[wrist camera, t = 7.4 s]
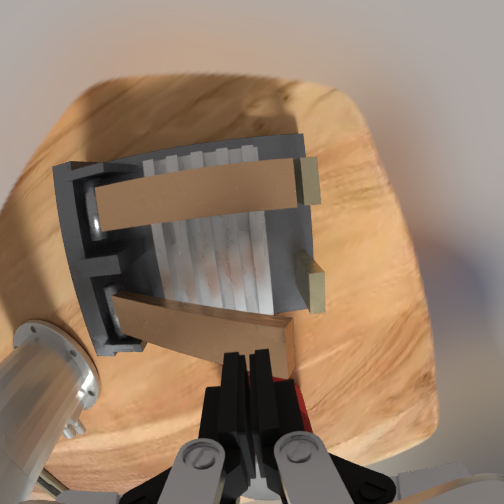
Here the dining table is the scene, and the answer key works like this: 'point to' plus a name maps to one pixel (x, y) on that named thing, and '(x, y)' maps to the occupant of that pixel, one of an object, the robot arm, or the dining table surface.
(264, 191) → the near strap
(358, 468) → the robot arm
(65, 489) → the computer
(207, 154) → the heatsink block
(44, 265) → the dining table surface
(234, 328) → the strap
